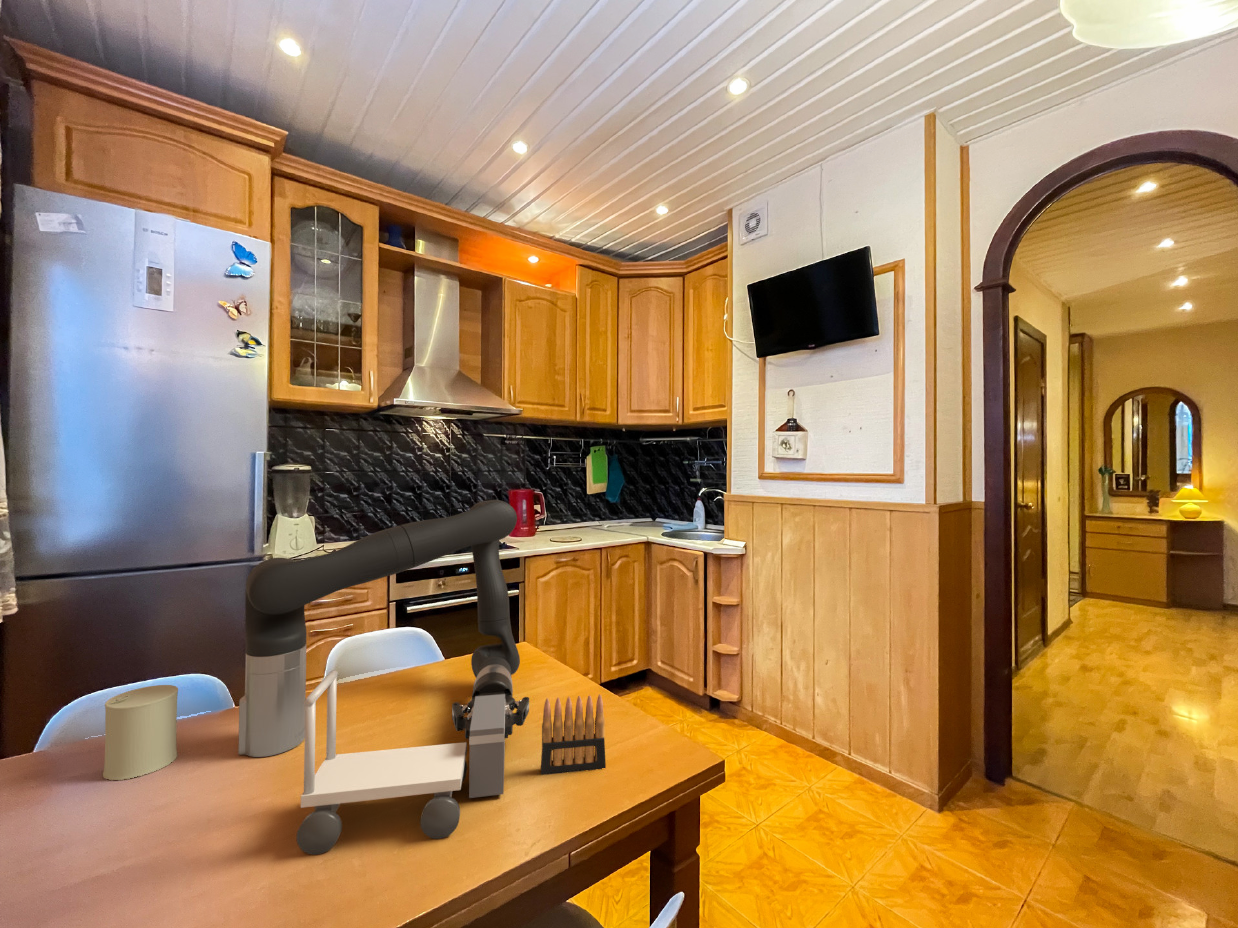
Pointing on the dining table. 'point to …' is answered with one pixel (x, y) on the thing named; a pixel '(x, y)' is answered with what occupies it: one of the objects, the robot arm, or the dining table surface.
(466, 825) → the dining table surface
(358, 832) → the dining table surface
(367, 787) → the trolley
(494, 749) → the grey lidded box
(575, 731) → the ammunition clip
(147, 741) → the can
